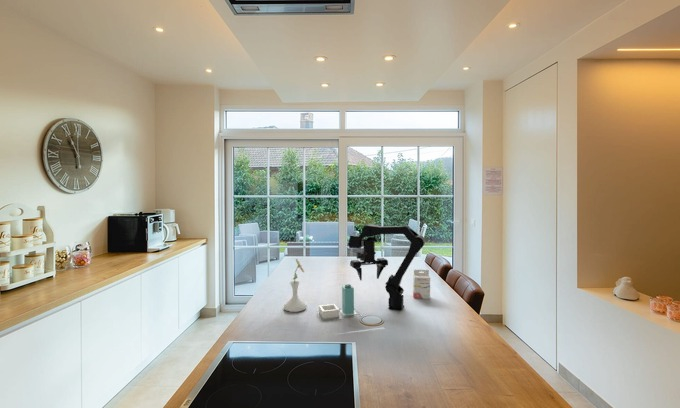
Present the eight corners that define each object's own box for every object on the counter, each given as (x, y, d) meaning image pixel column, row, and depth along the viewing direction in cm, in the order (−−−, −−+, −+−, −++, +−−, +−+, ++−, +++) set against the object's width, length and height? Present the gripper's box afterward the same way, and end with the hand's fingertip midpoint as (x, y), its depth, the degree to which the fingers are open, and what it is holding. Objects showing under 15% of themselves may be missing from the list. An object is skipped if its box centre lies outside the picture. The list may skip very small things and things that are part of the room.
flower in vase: (302, 315, 162) (301, 263, 161) (280, 313, 164) (279, 262, 163) (310, 305, 175) (309, 257, 173) (289, 304, 177) (288, 256, 176)
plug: (351, 309, 166) (350, 283, 165) (353, 313, 162) (353, 286, 161) (342, 310, 165) (342, 284, 164) (345, 314, 160) (344, 286, 160)
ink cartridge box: (414, 298, 184) (414, 271, 183) (413, 295, 188) (413, 269, 188) (430, 298, 183) (430, 271, 182) (428, 295, 188) (429, 269, 187)
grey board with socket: (352, 307, 171) (352, 300, 170) (361, 317, 158) (361, 309, 158) (315, 312, 165) (315, 304, 165) (321, 322, 153) (321, 313, 153)
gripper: (379, 245, 184) (379, 274, 185) (346, 247, 179) (347, 277, 180) (388, 249, 173) (388, 279, 174) (353, 251, 168) (353, 282, 169)
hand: (369, 279), depth 174 cm, fingers open, 9 cm apart
